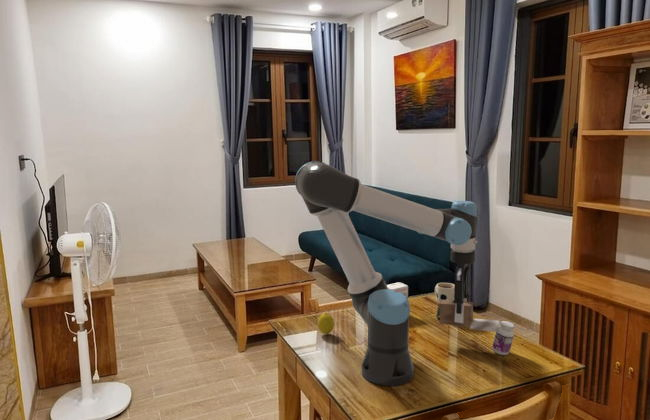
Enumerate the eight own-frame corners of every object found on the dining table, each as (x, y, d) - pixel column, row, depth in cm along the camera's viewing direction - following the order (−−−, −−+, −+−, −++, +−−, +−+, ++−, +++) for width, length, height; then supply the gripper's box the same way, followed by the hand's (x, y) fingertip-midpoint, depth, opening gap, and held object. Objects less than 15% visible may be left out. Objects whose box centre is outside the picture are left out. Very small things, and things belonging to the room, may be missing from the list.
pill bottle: (488, 347, 159) (495, 319, 157) (501, 346, 161) (508, 319, 159) (499, 356, 154) (506, 328, 152) (512, 355, 156) (520, 327, 154)
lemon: (334, 331, 174) (334, 310, 173) (333, 338, 169) (333, 316, 167) (318, 331, 175) (318, 309, 173) (316, 337, 169) (316, 315, 168)
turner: (438, 325, 162) (438, 304, 161) (443, 318, 168) (442, 298, 167) (496, 331, 154) (496, 310, 153) (499, 323, 160) (499, 302, 159)
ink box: (391, 319, 185) (391, 289, 183) (382, 315, 189) (382, 285, 188) (408, 314, 190) (408, 285, 188) (399, 310, 194) (399, 281, 192)
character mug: (427, 316, 188) (428, 283, 186) (441, 312, 192) (442, 280, 190) (448, 325, 179) (450, 291, 177) (462, 321, 183) (464, 287, 181)
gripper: (470, 257, 149) (467, 331, 152) (479, 245, 164) (476, 312, 168) (445, 254, 152) (443, 327, 156) (455, 243, 167) (453, 309, 171)
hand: (460, 319), depth 162 cm, fingers closed on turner, 4 cm apart
